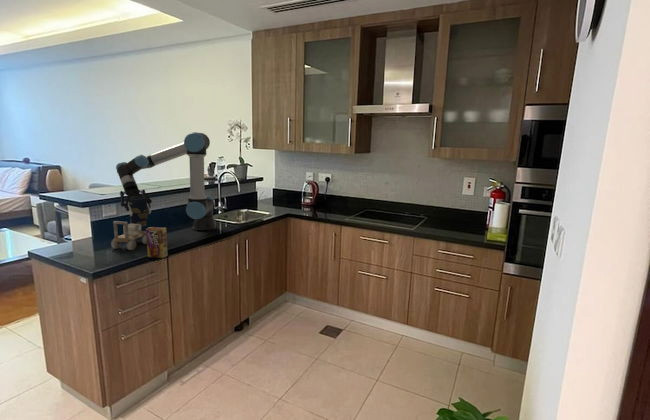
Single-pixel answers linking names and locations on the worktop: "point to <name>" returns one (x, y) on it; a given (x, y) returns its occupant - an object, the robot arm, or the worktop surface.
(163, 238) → the candy box
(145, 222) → the canister
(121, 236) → the wooden toy truck
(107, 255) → the worktop surface
